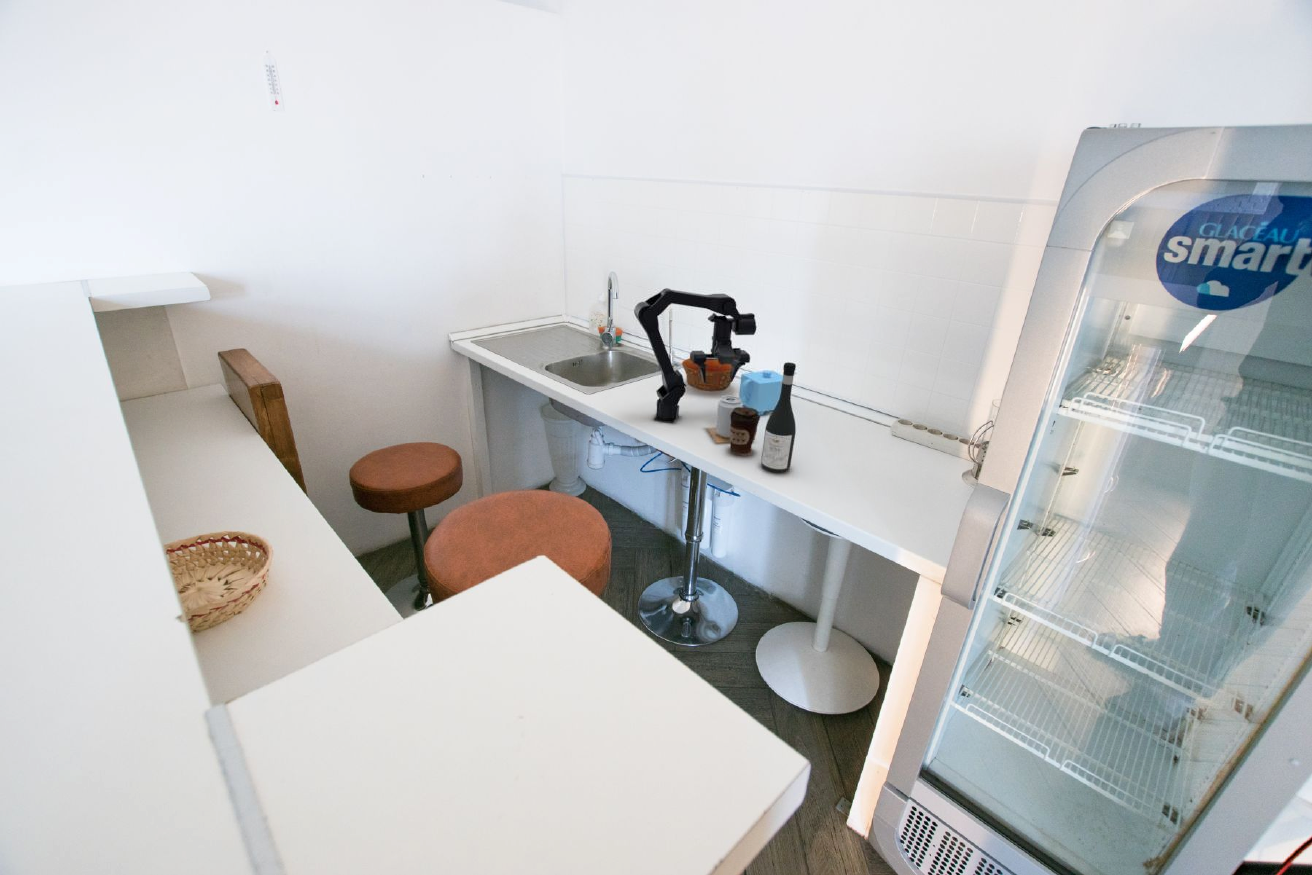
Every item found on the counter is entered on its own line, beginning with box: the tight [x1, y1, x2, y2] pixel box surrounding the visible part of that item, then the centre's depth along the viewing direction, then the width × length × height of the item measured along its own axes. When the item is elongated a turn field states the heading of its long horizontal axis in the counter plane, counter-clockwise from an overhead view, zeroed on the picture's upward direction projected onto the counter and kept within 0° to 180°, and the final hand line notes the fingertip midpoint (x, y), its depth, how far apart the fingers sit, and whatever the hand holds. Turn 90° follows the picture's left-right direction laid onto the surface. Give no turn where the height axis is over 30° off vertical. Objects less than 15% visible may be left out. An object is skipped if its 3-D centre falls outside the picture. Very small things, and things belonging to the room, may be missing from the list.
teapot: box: [738, 369, 797, 416], centre depth 200 cm, size 22×11×14 cm, turn 115°
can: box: [715, 395, 744, 438], centre depth 177 cm, size 8×8×12 cm
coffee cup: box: [729, 406, 761, 456], centre depth 166 cm, size 9×8×13 cm
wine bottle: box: [760, 361, 797, 473], centre depth 154 cm, size 8×8×30 cm
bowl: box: [681, 357, 732, 392], centre depth 217 cm, size 21×21×10 cm
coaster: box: [706, 427, 731, 444], centre depth 179 cm, size 11×11×1 cm
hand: (717, 382), depth 189 cm, fingers open, 9 cm apart
